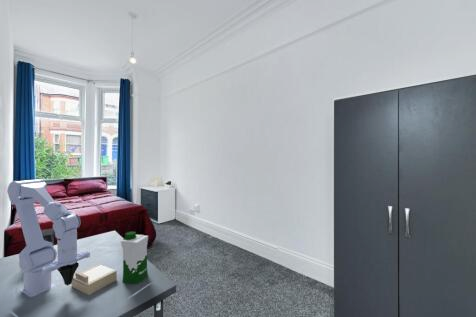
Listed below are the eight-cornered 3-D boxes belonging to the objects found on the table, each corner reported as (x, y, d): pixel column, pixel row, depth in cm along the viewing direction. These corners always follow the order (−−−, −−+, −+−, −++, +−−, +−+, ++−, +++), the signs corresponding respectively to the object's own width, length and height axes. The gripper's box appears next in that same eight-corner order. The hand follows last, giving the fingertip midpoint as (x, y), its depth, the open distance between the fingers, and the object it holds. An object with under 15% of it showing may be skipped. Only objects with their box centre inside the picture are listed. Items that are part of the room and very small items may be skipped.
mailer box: (71, 287, 87) (71, 276, 87) (99, 274, 96) (99, 264, 96) (88, 296, 81) (88, 284, 81) (116, 281, 91) (116, 270, 91)
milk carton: (133, 272, 97) (132, 229, 97) (151, 275, 96) (150, 230, 95) (118, 284, 89) (118, 236, 88) (138, 287, 87) (137, 238, 87)
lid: (73, 278, 86) (73, 272, 86) (100, 266, 96) (100, 260, 96) (87, 285, 82) (87, 278, 82) (114, 271, 91) (114, 265, 91)
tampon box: (30, 260, 110) (29, 231, 109) (54, 254, 115) (53, 227, 115) (26, 269, 101) (25, 238, 100) (52, 263, 106) (51, 233, 106)
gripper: (48, 258, 72) (49, 298, 72) (94, 242, 85) (94, 276, 85) (38, 254, 75) (39, 292, 75) (84, 239, 88) (84, 272, 88)
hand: (68, 283), depth 80 cm, fingers closed
